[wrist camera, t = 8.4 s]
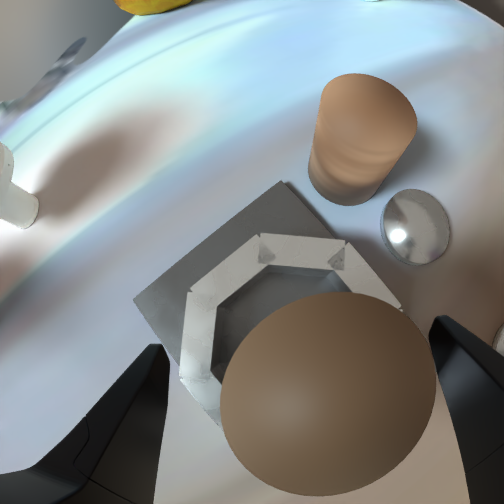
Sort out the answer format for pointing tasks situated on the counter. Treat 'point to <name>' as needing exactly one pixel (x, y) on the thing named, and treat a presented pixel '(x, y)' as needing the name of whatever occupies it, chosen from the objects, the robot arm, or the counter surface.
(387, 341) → the walnut peg
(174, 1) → the bucket of meat
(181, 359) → the octagonal socket plate
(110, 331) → the counter surface
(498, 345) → the disc
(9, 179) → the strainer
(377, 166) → the cherry stub
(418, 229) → the disc
